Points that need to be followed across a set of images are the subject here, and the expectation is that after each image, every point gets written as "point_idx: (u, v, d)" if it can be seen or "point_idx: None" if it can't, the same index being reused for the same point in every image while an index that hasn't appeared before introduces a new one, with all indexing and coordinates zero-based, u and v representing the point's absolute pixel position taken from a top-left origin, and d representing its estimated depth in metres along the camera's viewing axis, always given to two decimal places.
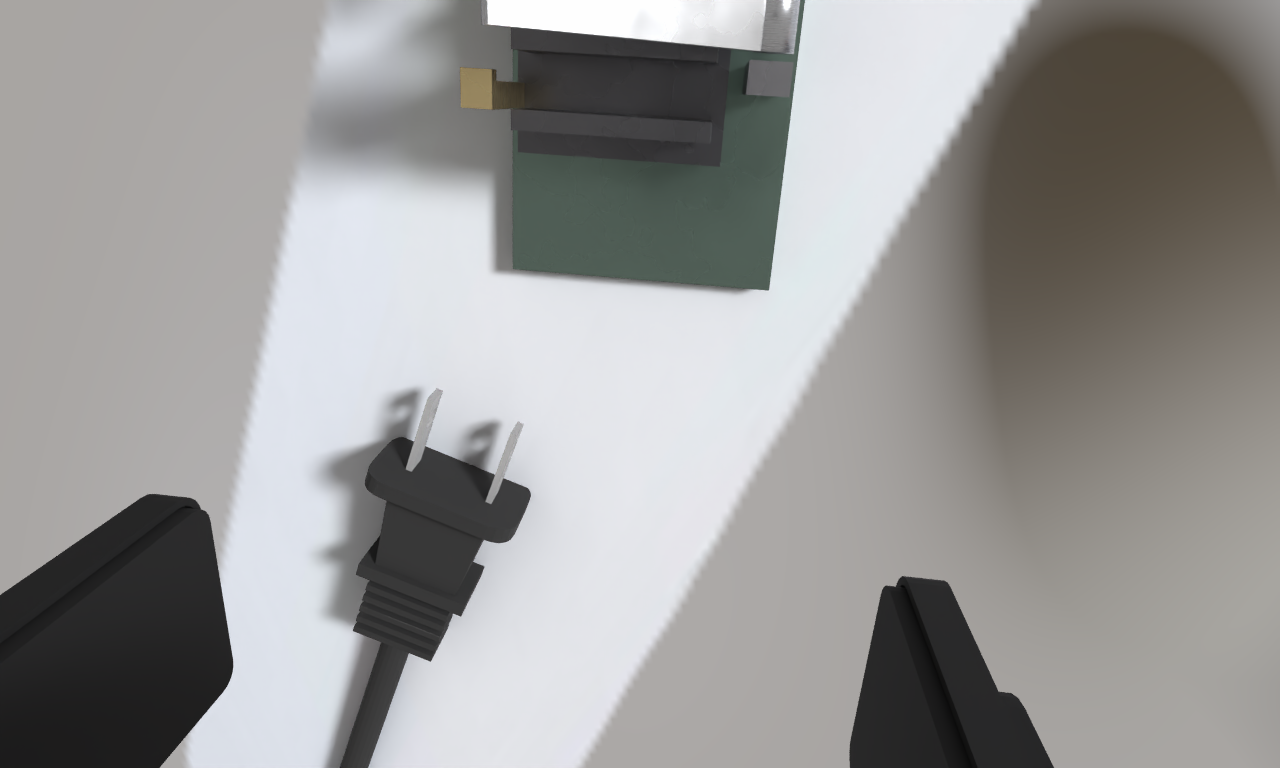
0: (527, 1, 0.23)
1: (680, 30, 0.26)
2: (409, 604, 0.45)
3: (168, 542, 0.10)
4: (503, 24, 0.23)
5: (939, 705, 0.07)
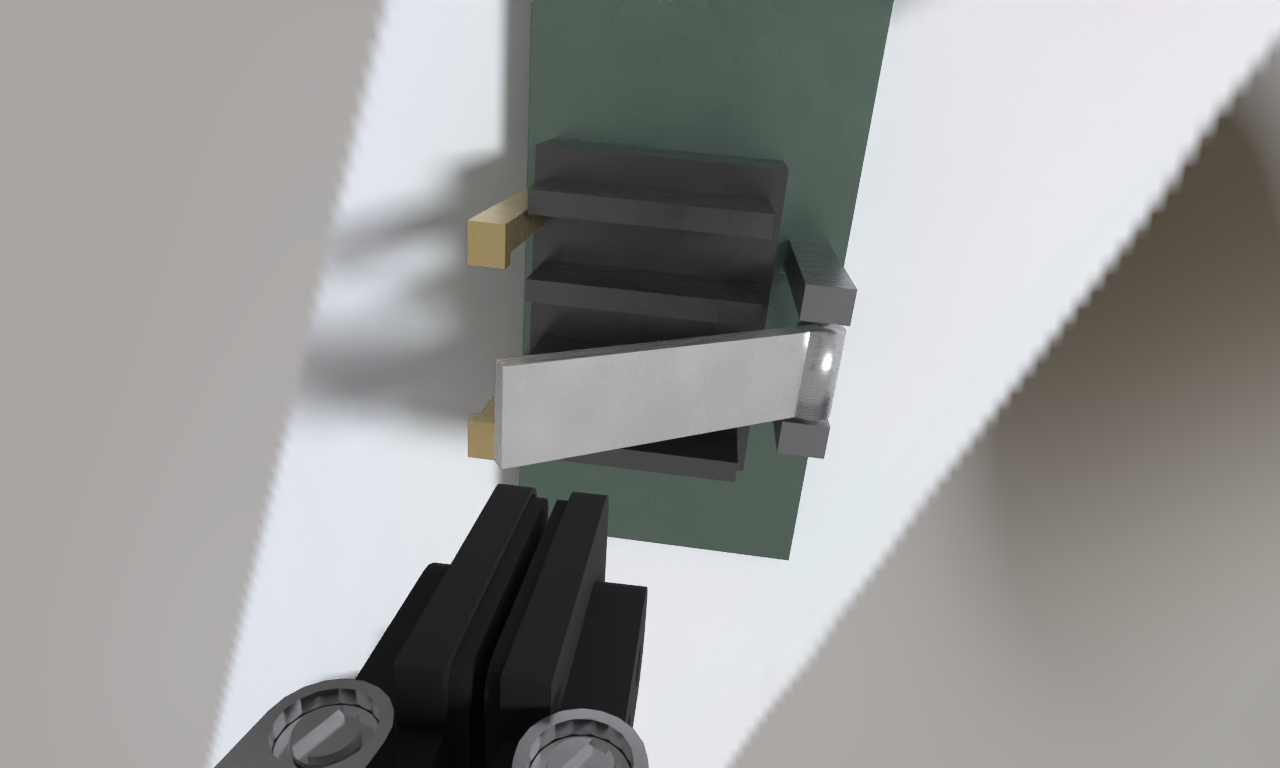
0: (545, 438, 0.21)
1: (710, 421, 0.24)
2: None
3: (535, 527, 0.10)
4: (518, 465, 0.21)
5: (531, 581, 0.09)
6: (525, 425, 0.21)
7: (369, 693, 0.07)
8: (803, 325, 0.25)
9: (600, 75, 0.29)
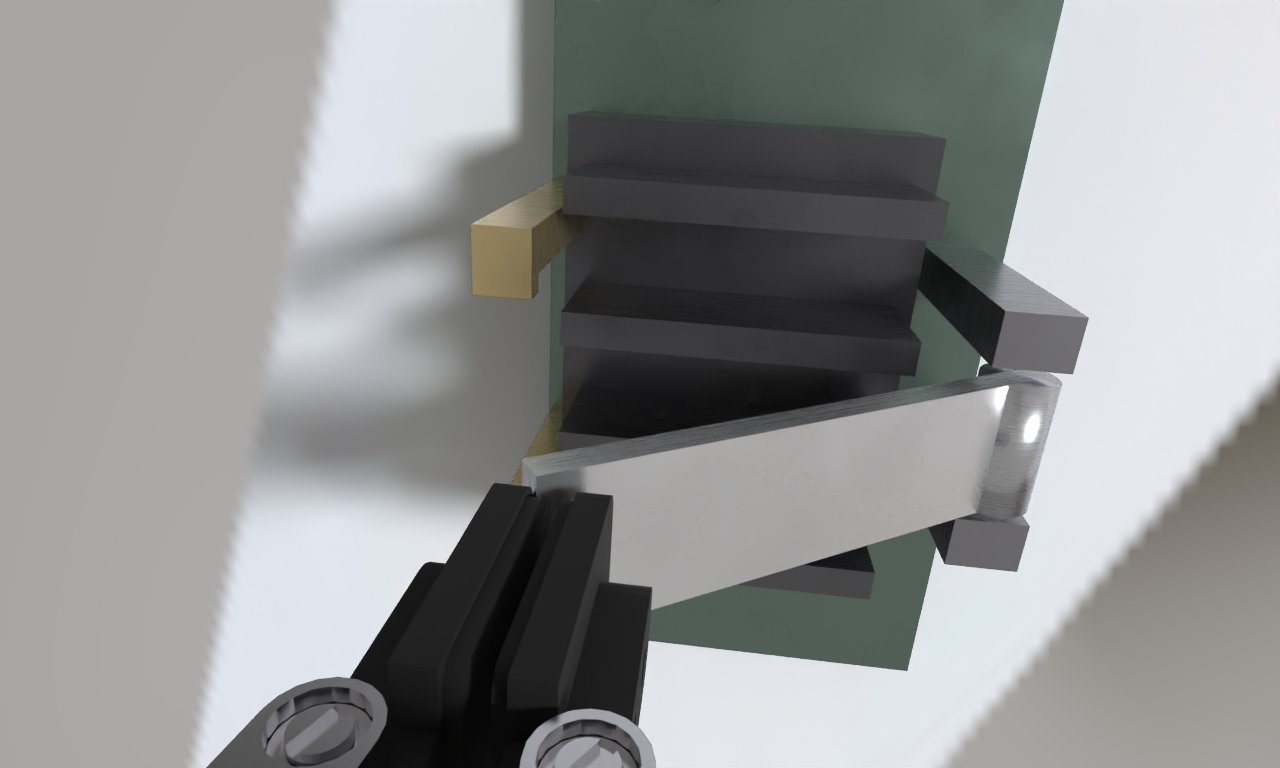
0: None
1: (860, 531, 0.15)
2: None
3: (531, 527, 0.10)
4: None
5: (537, 581, 0.09)
6: None
7: (363, 692, 0.07)
8: (992, 374, 0.16)
9: (655, 17, 0.20)
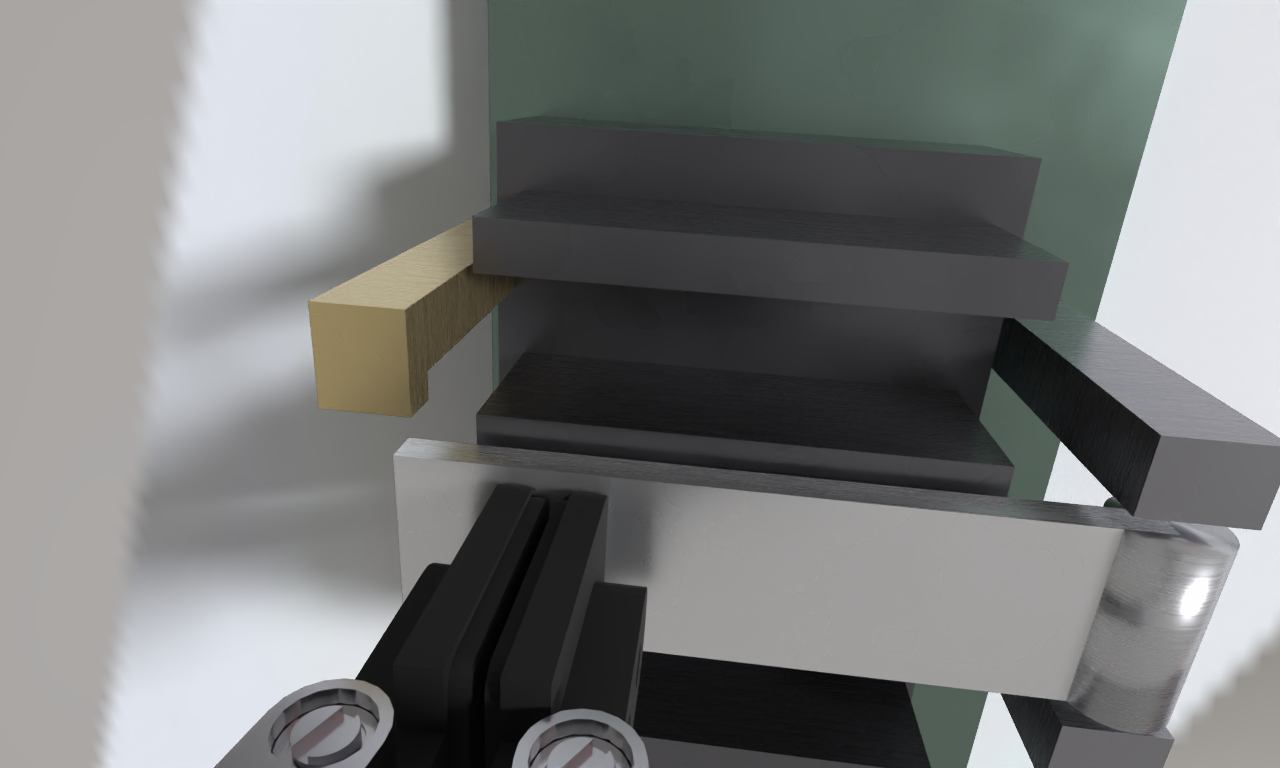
0: None
1: (835, 652, 0.12)
2: None
3: (535, 527, 0.10)
4: None
5: (531, 581, 0.09)
6: (441, 562, 0.12)
7: (369, 693, 0.07)
8: (1119, 510, 0.11)
9: None
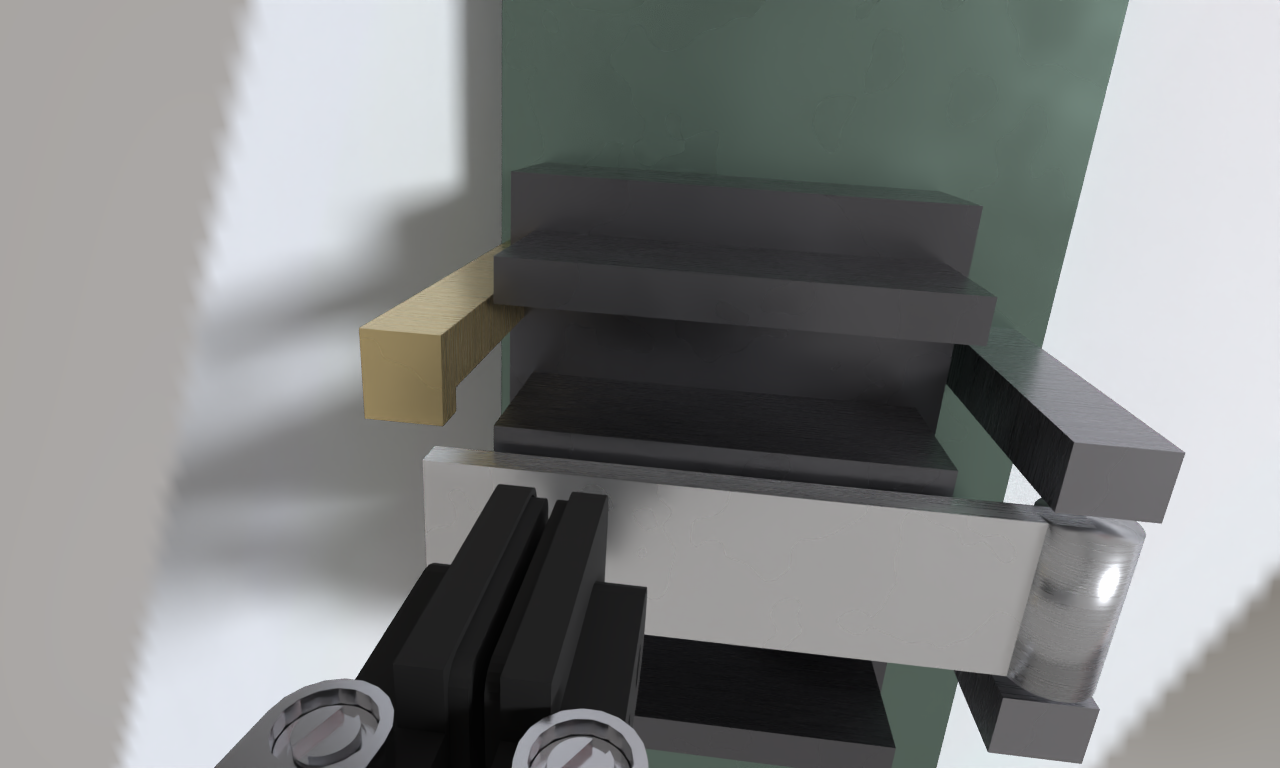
0: None
1: (806, 634, 0.13)
2: None
3: (535, 527, 0.10)
4: None
5: (531, 581, 0.09)
6: None
7: (369, 693, 0.07)
8: (1047, 508, 0.13)
9: (622, 52, 0.17)
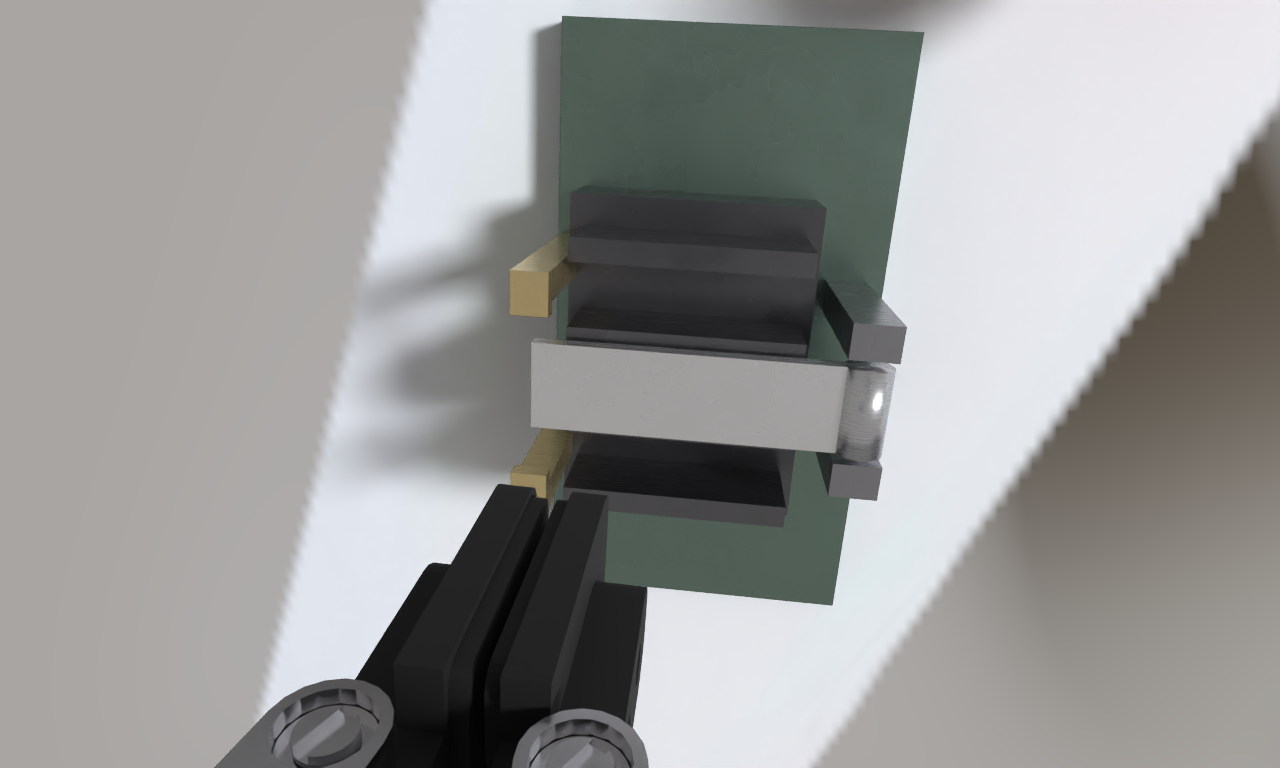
0: (567, 409, 0.26)
1: (730, 433, 0.25)
2: None
3: (535, 527, 0.10)
4: (545, 427, 0.26)
5: (531, 581, 0.09)
6: (550, 394, 0.26)
7: (369, 693, 0.07)
8: (851, 362, 0.25)
9: (630, 122, 0.29)
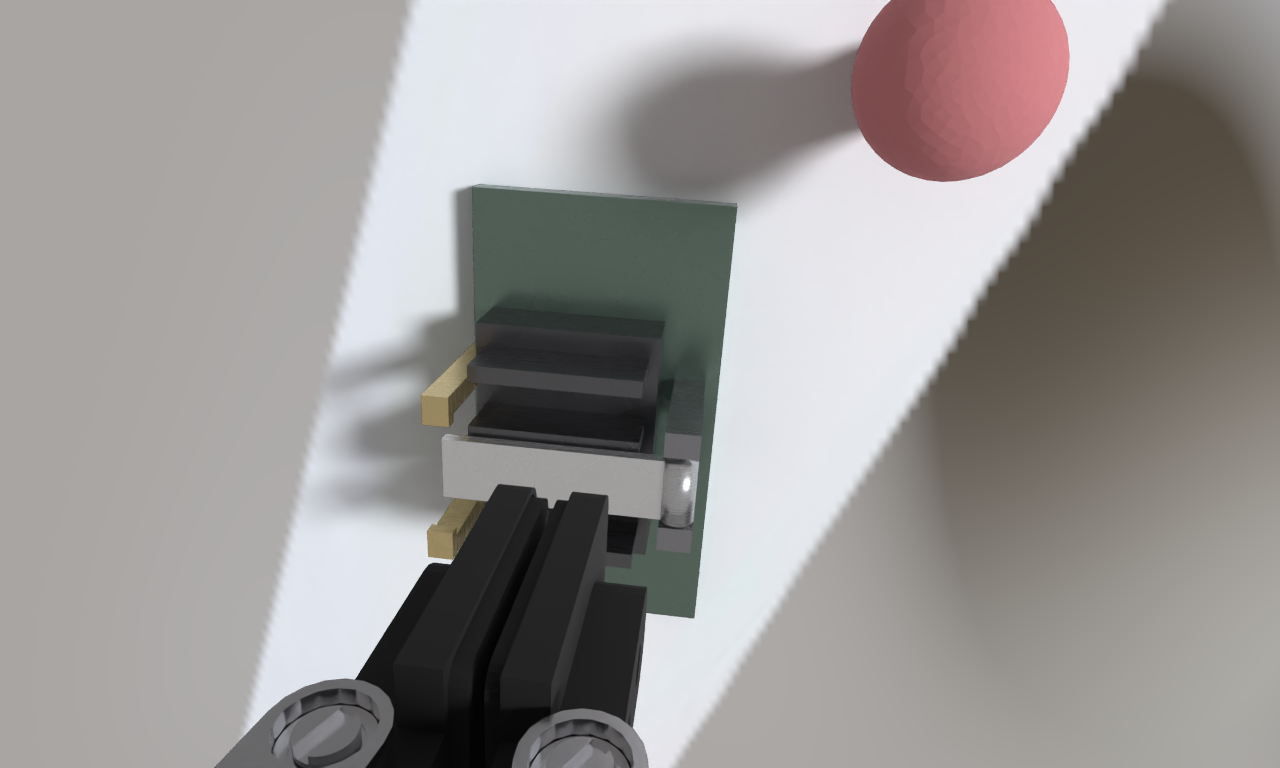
0: (469, 485, 0.36)
1: None
2: None
3: (535, 527, 0.10)
4: (453, 497, 0.36)
5: (531, 581, 0.09)
6: (456, 475, 0.36)
7: (369, 693, 0.07)
8: None
9: (525, 262, 0.39)
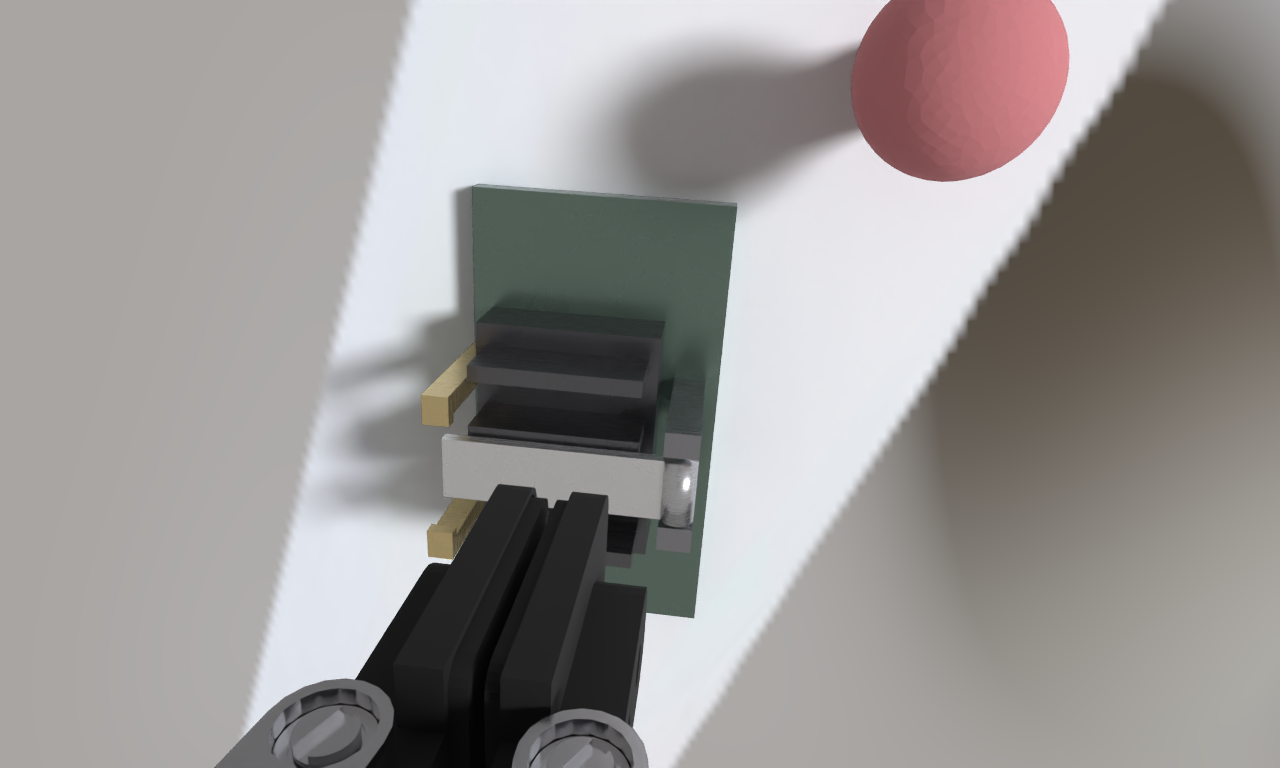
0: (469, 485, 0.36)
1: None
2: None
3: (535, 527, 0.10)
4: (453, 496, 0.36)
5: (531, 581, 0.09)
6: (456, 474, 0.36)
7: (369, 693, 0.07)
8: None
9: (525, 262, 0.39)
